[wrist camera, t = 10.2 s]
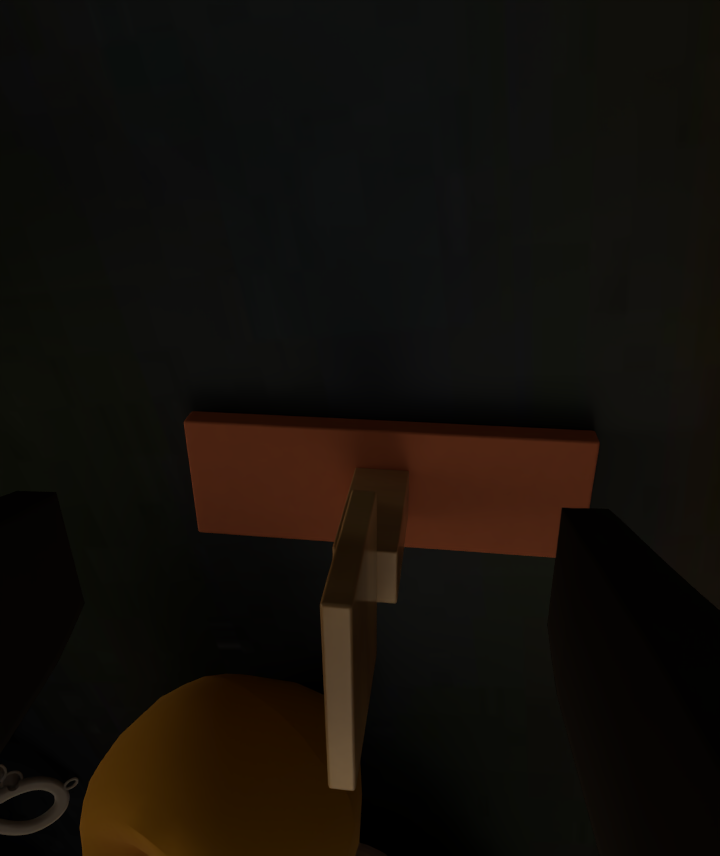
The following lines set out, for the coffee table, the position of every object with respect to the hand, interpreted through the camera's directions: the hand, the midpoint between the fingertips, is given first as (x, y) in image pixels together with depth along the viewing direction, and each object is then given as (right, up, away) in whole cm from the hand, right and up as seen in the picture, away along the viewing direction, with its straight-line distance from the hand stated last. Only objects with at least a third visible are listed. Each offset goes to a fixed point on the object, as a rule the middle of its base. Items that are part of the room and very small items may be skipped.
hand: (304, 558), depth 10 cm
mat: (+2, 0, +11) cm, 11 cm away
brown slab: (+1, 0, +11) cm, 11 cm away
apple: (-1, -10, +16) cm, 19 cm away
